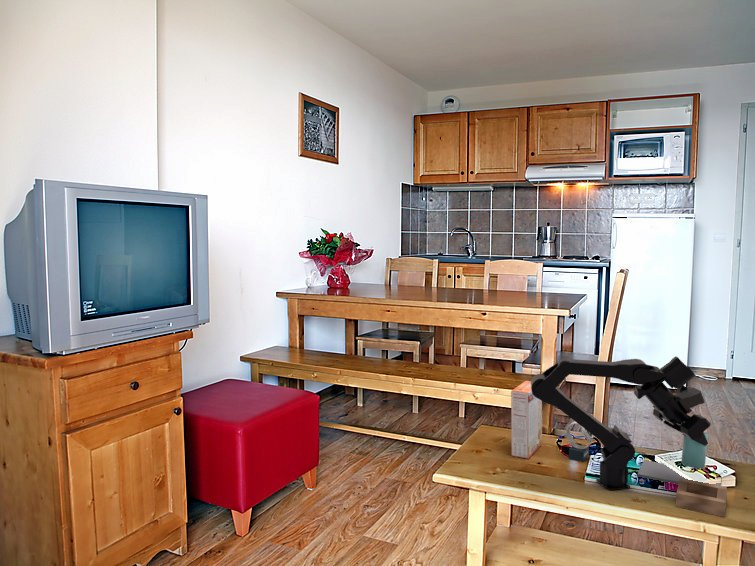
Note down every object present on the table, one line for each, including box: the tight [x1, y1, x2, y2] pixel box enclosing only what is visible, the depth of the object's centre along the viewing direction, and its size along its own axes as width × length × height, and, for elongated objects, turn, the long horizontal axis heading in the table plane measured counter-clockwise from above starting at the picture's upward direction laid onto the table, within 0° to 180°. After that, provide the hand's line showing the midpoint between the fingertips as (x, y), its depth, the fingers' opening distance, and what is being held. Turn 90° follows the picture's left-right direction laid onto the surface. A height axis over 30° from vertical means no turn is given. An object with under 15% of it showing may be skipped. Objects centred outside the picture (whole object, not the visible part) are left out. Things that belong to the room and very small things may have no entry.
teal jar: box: [680, 428, 709, 470], centre depth 159 cm, size 6×6×10 cm
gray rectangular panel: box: [637, 459, 722, 486], centre depth 166 cm, size 20×12×1 cm, turn 58°
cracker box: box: [510, 380, 543, 460], centre depth 187 cm, size 14×6×21 cm, turn 148°
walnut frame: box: [675, 478, 728, 518], centre depth 150 cm, size 11×11×4 cm
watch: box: [565, 421, 595, 463], centre depth 181 cm, size 6×8×11 cm
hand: (699, 440), depth 159 cm, fingers closed on teal jar, 6 cm apart
